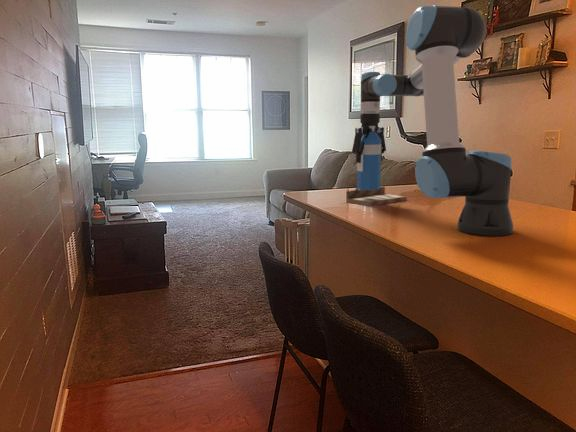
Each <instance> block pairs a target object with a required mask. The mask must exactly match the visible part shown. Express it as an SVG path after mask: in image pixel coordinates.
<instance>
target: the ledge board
mask: <svg viewBox="0 0 576 432" xmlns="http://www.w3.org/2000/svg"><path fill="white" fill-rule="evenodd" d="M385 190H386V187H385V186H380V189H378V190H360V189H357V187H355V188H354V190H347V191H345V192H346V193H345V194H346V195H345V196H346V197H345V198H346V203H350V204H356V205H361V206H367V207H371V206H378V205H384V204H391V203H397V202H398V201H399V202H405V201H407V200H408V199H407V198H408V197H407V196H406V195H405V196H404V195H403V196H402V195H396V194H389V193H386V191H385ZM404 200H405V201H404Z"/></svg>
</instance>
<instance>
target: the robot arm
mask: <svg viewBox="0 0 576 432" xmlns="http://www.w3.org/2000/svg"><path fill="white" fill-rule="evenodd" d="M405 33H406V34H405V43H406V47H407V48H408V49H409V50H410V51H414V53H415V55H414V56H415V59H416V61H417V62H418V63H420V65H419V66H417V68H415V69H414V70H413V71H412V72H411V73H409V74H390V73H381V72H379V71H367V72H366V71H365V72H362V74H361V77H360V117H359V118H360V121H359V122H360V123H361V127H355V128H354V131H355V134H354V138H353V139H354V140H353V143H352V150H351V152H352V154H354V155H355V162H356V172H357V171H363V155H361V154H362V152H363V149H364V142H363V143H361V138H362V137H363V136H362V135H364V134H367V135H366V136H365V138H367V137H368V135H369V133H370V132H372V128H369V126H375V129H374V131H375V132H376V133H377V134H378V136H379V137H380V139H381V140H382V141H381V162H382V160H383V159H382V157H383V154H384V153H385V152H386V151H387V147H386V146H387V145H386V140H385V134H384V133H385V127H384V126H379V123H380V122H381V117H380V116H381V115H380V112H381V97H422V96H423V104H424V106H423V107H424V116H425V118H424V119H425V131H426V144H427V145H426V147H425V148H424V149H423V150H422V152H421V153H422V154H421V155H422V157H419V159H418V160H417V161H416V164H415V166H416V167H414V168H415V169H414V173H415V175H414V176H415V181H416V184H417V187H418V189H419V190H420V192H421V193H422V194H423V195H424V196H425V197H427V198H431V199H433V198H434V199H446V198H458V197H459V198H461V197H462V198H463V197H465V198H464V199H465V200H464V201H465V202H464V206H463V208H462V210H461V212H460V216H459V217H458V219H457V230H458V231H459V232H463V233H466V234H470V235H471V234H472V235H475V236H486V237H489V236H490V237H493V236H494V237H497V236H498V237H501V236H509V235H511V234H514V223H513V222H514V221H513V218H512V215H511V212H510V207H509V203H510V201H509V200H510V191H511V190H510V187H511V179H512V177H511V176H512V171H513V168H512V157H511V156H510V155H509V154H508V153H503V152H502V153H499V152H494V151H493V152H491V151H484V150H469V151H468V153H467V152H466V151H467V149H466V146H465V145H463V144H462V143H461V142H460V133H459V122H458V121H459V120H458V108H457V93H456V77H455V67H454V65H455V64H457V62H459V61H460V60H461V59H467V58H469V57H470V56H472V55H473V54H474V53H475V52H477V50H478V49H479V48H481V47H480V46H482V44H483V43H484V41H485V38H486V36H487V35H486V34H487V25H486V20H485V17H484V16H483V15H482V14H481V13H480V12H479V11H478V10H477V9H474V8H473V7H468V6H450V5H449V6H446V5H445V6H444V5H435V4H433V5H422V6H419V7H418V8H416V10H415V11H414V12H413V14H412V15H411V17H410V19H409V21H408V24H407V29H406V32H405Z"/></svg>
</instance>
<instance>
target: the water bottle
mask: <svg viewBox="0 0 576 432" xmlns="http://www.w3.org/2000/svg"><path fill="white" fill-rule="evenodd" d="M369 128H372V132H370V133H369V135H368V137H367V138H365V136H366V135H367V134H364V135H362V136H363V137H362V138H361V143H363V142H364V149H363V152H362V154H361V155H363V171H357V170H356V175H357V176H356V179H357V180H356V188H357V189H358V190H378V189H380V187H381V177H382V174H381V173H382V161H381V141H382V140H381V139H380V137H379V136H378V134H377V133H376V132H375V131H374V129H375V126H369Z"/></svg>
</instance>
